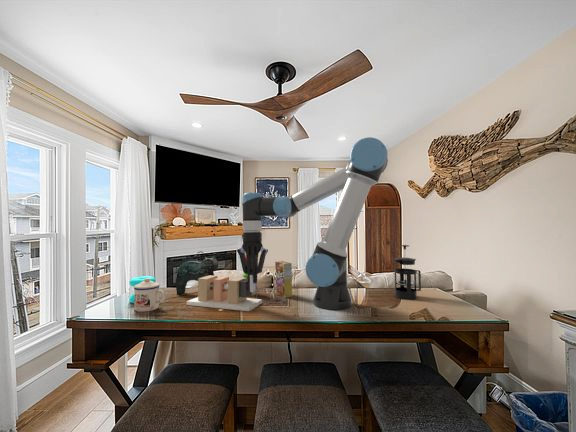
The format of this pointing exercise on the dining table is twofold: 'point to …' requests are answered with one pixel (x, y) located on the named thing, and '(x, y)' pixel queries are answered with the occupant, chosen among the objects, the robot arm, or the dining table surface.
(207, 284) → the shaft bracket
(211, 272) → the dark teal curved piece
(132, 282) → the donuts
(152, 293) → the teacup with lid
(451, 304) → the dining table surface
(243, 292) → the shaft
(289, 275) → the candy box
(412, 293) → the french press
